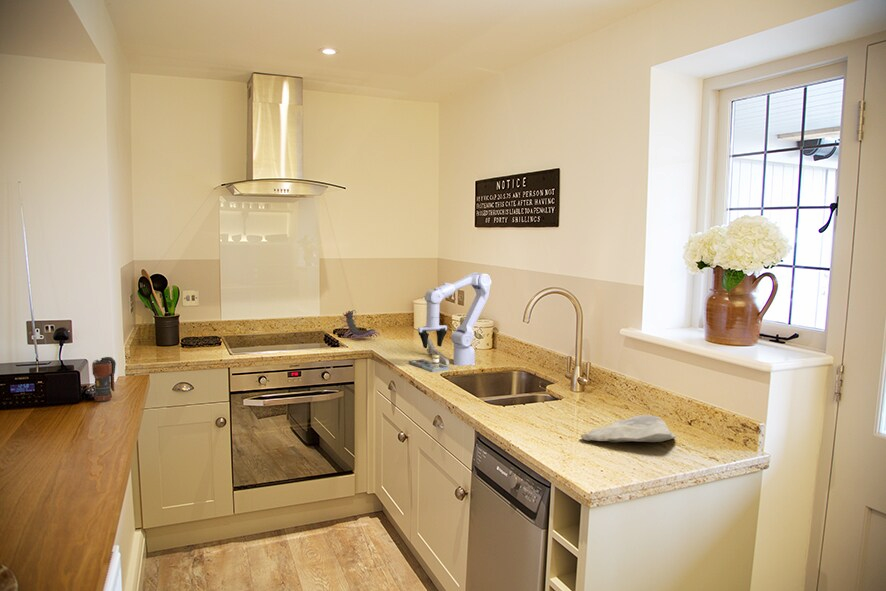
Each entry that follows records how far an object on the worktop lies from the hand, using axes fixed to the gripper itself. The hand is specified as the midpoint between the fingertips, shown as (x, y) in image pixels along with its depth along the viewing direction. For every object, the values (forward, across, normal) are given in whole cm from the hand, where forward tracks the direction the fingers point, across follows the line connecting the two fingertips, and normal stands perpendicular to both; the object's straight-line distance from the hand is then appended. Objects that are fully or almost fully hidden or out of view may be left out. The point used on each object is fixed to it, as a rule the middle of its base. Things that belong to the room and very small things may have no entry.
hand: (432, 346), depth 272 cm
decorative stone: (+10, 0, +106) cm, 107 cm away
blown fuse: (+10, +1, +4) cm, 10 cm away
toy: (+10, -5, -81) cm, 82 cm away
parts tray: (+10, +1, +4) cm, 11 cm away
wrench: (+10, -12, -14) cm, 21 cm away
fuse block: (+10, +2, -6) cm, 12 cm away
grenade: (+10, +127, -17) cm, 129 cm away
